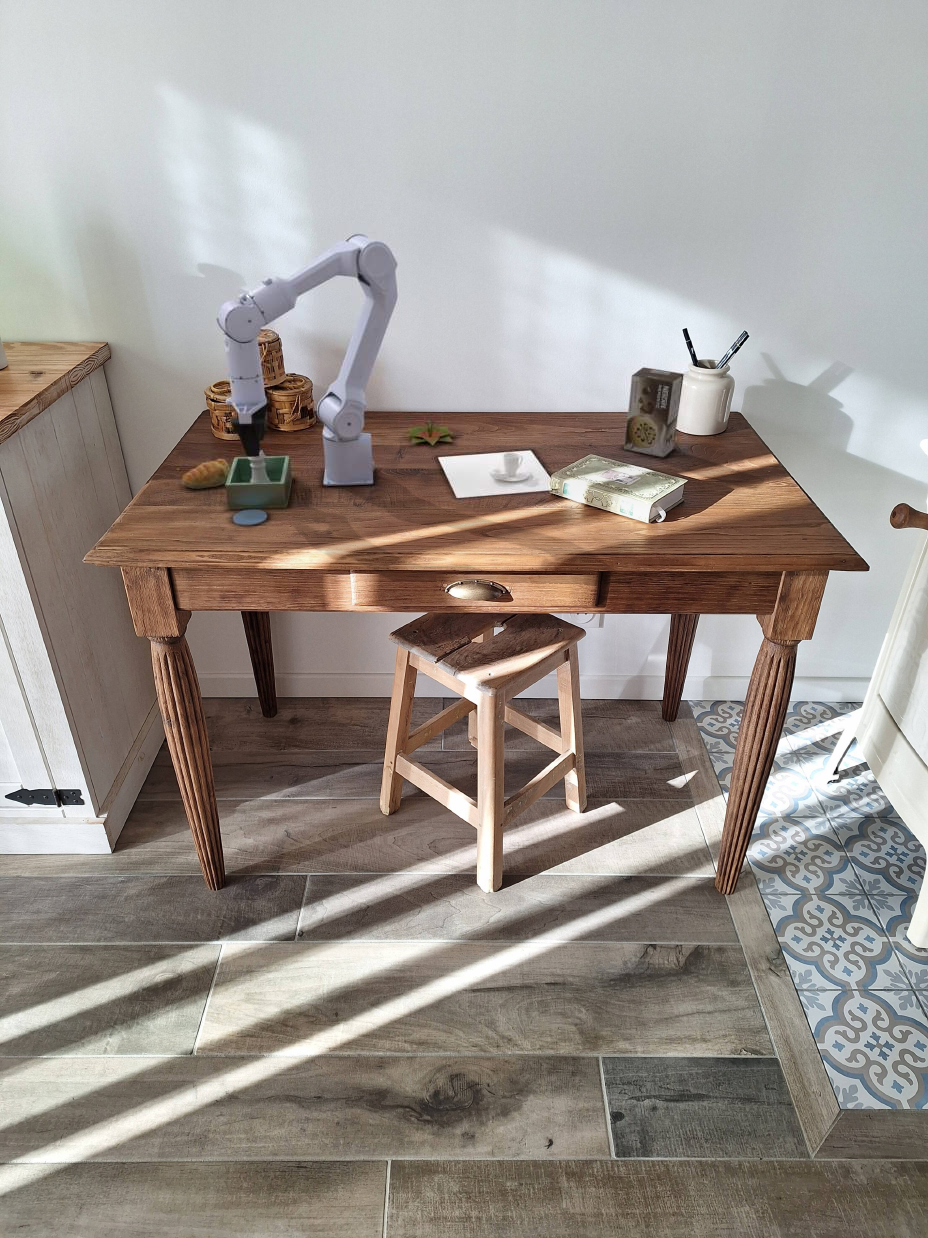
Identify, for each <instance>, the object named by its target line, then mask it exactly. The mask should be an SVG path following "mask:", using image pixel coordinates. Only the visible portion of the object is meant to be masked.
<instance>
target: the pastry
mask: <svg viewBox="0 0 928 1238" xmlns="http://www.w3.org/2000/svg"><path fill="white" fill-rule="evenodd" d="M230 470H231V468H230V465H229V463H228V461H227V460H225V459H224V458H223V459H222V458H217V460H214V461H207V462H202V463H200V464H199V465H198V466H196V467H195V468H191V469H189V471H187V472H186V473H184V474H183V475H182V478H181V484H182V486H184V487H187V488H190V489H194V490H196V489H198V490H200V489H208V488H214V487H219V486H221V485H226V482H227V479H228V476H229V473H230Z"/></svg>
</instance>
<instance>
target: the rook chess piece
mask: <svg viewBox="0 0 928 1238" xmlns="http://www.w3.org/2000/svg"><path fill="white" fill-rule="evenodd" d="M265 457H266V455H265V453H264V450H261V449H260V453H259V456H258V457H248V459H249V460H250V461H251V464H250V466H251V467H252V479H251V482H250V483H261V482H271V481H270V480H269V478H268V477H267V474H266V470H265V465H266V464H265V463H264V459H265Z"/></svg>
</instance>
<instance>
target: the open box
mask: <svg viewBox="0 0 928 1238" xmlns="http://www.w3.org/2000/svg"><path fill="white" fill-rule="evenodd" d="M264 463H265V464H266V465H265V470H266V474H267V477H268V478H269V480H270V481H271V482H261V483H250V482H251V479H252V467H251V466H250V464H251V461H250V460H249V459H248V457H247V456H239V457H238V456H237V457H234V459H233V462H232V464H231V468H230V469H231V470H230V473H229V476H228V479H227V482H226V484H224V485H225V491H226V499H227V504H228V510H231V511H233V510H235V511H236V510H251V509H255V510H261V509H262V510H263V509H286V508H288V504H289V498H290V494H291V487H292V482H293V475H292V466H291V457H290V455H274V456H273V455H270V456H266V457H265V459H264Z"/></svg>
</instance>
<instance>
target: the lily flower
mask: <svg viewBox="0 0 928 1238" xmlns="http://www.w3.org/2000/svg"><path fill="white" fill-rule="evenodd" d="M423 418H424V419H425V420H426V421H425V420H423V419H422V418H419V420H420V421H421V424H420V426H421V427H411V428H410V427H408V428H407V429H408V430H409V432H408V433H406V435H403V437H411V436H412V437H413V438H411V444H416V443H421V442H428V443H429V444H431V446H434V445H435V444H436V442H438V441H439V442H440V441H441V442H442V441H443V442H449V443H452V442H453V440H452V439H451V438H452V437H450V436H448V435H456V433H454V432H453V431H451V430H449V428H448V426H438V425H440V424H441V422H439V420H438V417H435V416H433V417H432V418H431V421H428V419H427V418H426V416H423ZM437 422H438V423H437ZM436 423H437V424H436ZM435 424H436V425H435Z"/></svg>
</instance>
